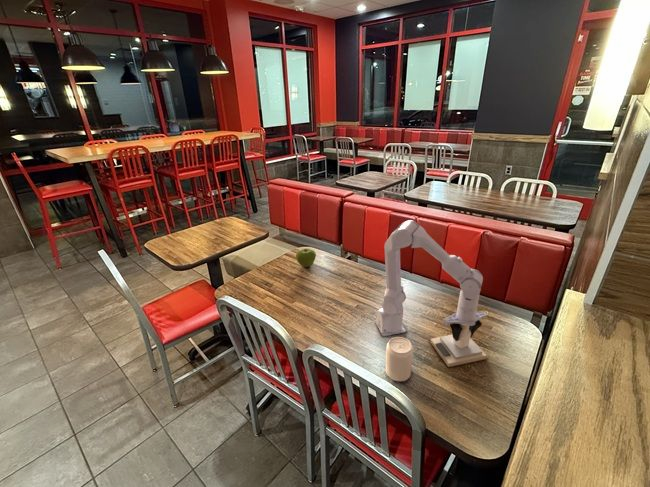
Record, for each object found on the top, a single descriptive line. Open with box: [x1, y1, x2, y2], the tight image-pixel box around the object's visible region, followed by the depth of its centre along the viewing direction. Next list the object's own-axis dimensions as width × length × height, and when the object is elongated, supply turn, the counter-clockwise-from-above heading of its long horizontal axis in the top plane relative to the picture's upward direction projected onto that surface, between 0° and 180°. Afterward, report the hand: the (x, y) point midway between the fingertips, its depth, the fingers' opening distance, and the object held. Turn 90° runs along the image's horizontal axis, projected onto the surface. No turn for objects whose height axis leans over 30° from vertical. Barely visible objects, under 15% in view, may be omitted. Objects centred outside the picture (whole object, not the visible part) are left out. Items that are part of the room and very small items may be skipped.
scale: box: [429, 334, 488, 368], centre depth 109 cm, size 14×12×3 cm
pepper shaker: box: [453, 324, 471, 349], centre depth 106 cm, size 4×4×10 cm
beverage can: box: [385, 336, 414, 382], centre depth 99 cm, size 8×8×12 cm
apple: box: [295, 247, 317, 268], centre depth 168 cm, size 11×10×10 cm
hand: (461, 337), depth 107 cm, fingers closed on pepper shaker, 4 cm apart
